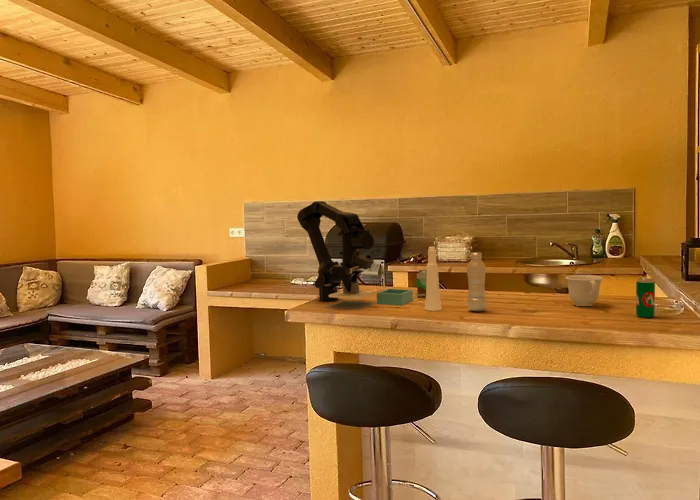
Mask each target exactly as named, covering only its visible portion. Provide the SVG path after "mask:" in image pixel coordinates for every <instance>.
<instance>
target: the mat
mask: <svg viewBox="0 0 700 500" xmlns="http://www.w3.org/2000/svg"><path fill="white" fill-rule="evenodd" d="M375 304H377V301H376V302H375V301H374V302H373V301H361V300H359V301H358V300H342V301H341V300H340V301H339V302H338V301H337V302H336V303H333V304H330V305H327V306H326V308H332V309H333V308H334V309H343V310H357V311H359V310H362V309H365V308H367V307H370V306H372V305H375Z"/></svg>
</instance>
